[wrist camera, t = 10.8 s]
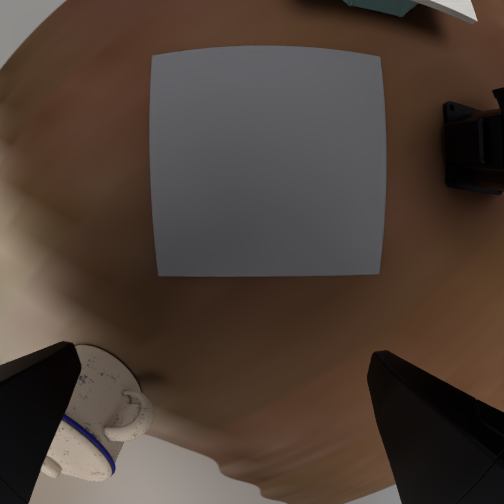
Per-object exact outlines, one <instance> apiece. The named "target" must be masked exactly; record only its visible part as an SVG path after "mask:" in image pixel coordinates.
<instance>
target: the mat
mask: <svg viewBox="0 0 504 504" xmlns="http://www.w3.org/2000/svg"><path fill="white" fill-rule="evenodd" d="M150 180H151V200H152V216H153V229H154V241H155V251H156V261H157V270H158V276H185V277H271V276H335V275H372V274H379V272H380V263H381V254H382V244H383V232H384V218H385V200H386V121H385V103H384V90H383V79H382V69H381V61H380V57H379V56H373V55H368V54H362V53H355V52H349V51H341V50H333V49H323V48H312V47H296V46H232V47H216V48H205V49H195V50H187V51H179V52H172V53H166V54H160V55H154V56H152V67H151V86H150Z"/></svg>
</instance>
